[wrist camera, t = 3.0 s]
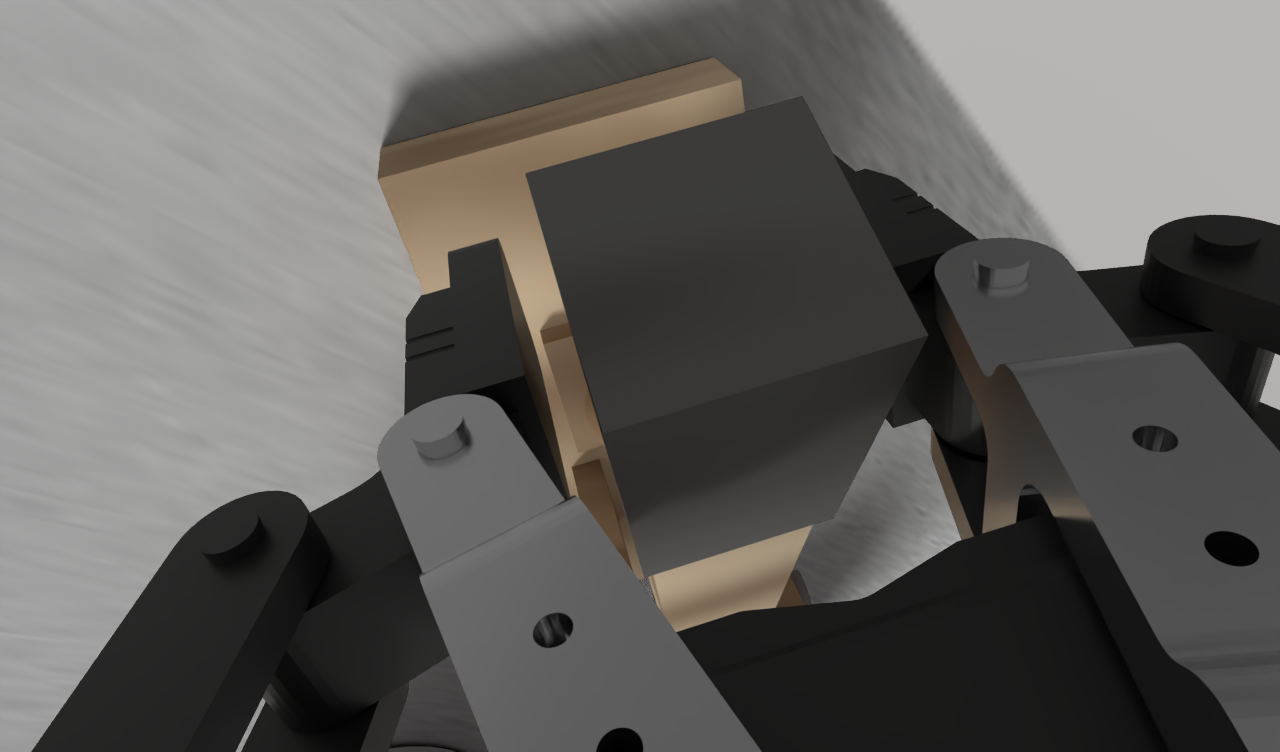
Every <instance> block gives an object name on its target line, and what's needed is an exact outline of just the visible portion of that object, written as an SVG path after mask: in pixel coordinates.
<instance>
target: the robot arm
mask: <svg viewBox="0 0 1280 752" xmlns="http://www.w3.org/2000/svg"><path fill="white" fill-rule="evenodd" d="M833 155H834V154H833ZM834 157H835V159H836V161H837V163H838V164H839V166H840V168H841V170H842V172H843V174H844V176H845V178H846V180H847V182H848V183H849V185H850V187H851V189H852V191H853V193H854V195H855V197H856V199H857V201H858V202H859V204H860V206H861V208H862V210H863V212H864V214H865V216H866V218H867V220H868V221H869V223H870V225H871V227H872V229H873V231H874V233H875V235H876V237H877V239H878V240H879V242H880V244H881V246H882V248H883V250H884V252H885V254H886V256H887V258H888V259H889V261H890V263H891V265H892V267H893V269H894V271H895V273H896V275H897V277H898V278H899V280H900V282H901V284H902V286H903V288H904V290H905V292H906V294H907V296H908V297H909V299H910V301H911V303H912V305H913V307H914V309H915V311H916V313H917V315H918V316H919V318H920V320H921V322H922V324H923V326H924V328H925V330H926V332H927V334H928V337H927V339H926V341H925V343H924V345H923V347H922V349H921V351H920V353H919V355H918V356H917V358H916V360H915V362H914V364H913V366H912V368H911V370H910V372H909V374H908V376H907V378H906V380H905V381H904V383H903V385H902V387H901V389H900V391H899V393H898V395H897V397H896V399H895V401H894V403H893V405H892V407H891V408H890V410H889V412H888V414H887V416H886V420H887V421H888V422H889V423H890V425H891V426H892V427H893V428H895V427H898V426H902V425H905V424H908V423H911V422H914V421H918V420H921V419H924V418H925V419H926V420H927V422H928V423H929V424H930V425H931V455H932V459H933V462H934V465H935V468H936V470H937V473H938V476H939V479H940V481H941V484H942V487H943V490H944V492H945V495H946V498H947V501H948V504H949V506H950V509H951V512H952V515H953V517H954V520H955V523H956V526H957V528H958V531H959V534H960V537H961V539H962V540H961V541H958V542H956V543H954V544H953V545H951V546H949V547H948V548H946V549H944V550H943V551H941V552H940V553H938V554H936V555H935V556H933V557H932V558H930V559H928V560H927V561H925V562H924V563H922V564H920V565H919V566H917V567H916V568H914V569H912V570H911V571H909V572H907V573H906V574H904V575H903V576H901V577H899V578H898V579H896V580H895V581H893V582H891V583H890V584H888V585H887V586H885V587H883V588H882V589H880V590H879V591H877V592H875V593H874V594H872V595H870V596H868V597H865V598H862V599H859V600H853V601H843V602H833V603H822V604H811V605H800V606H789V607H779V608H768V609H757V610H746V611H740V612H737V613H734V614H731V615H728V616H725V617H721V618H718V619H715V620H712V621H709V622H706V623H703V624H700V625H697V626H693V627H690V628H687V629H684V630H681V631H678V632H676V631H675V630H674V628H673V627H672V626H671V624H670V623H669V622H668V620H667V619H666V617H665V616H664V615H663V613H662V612H661V610H660V609H659V608H658V606H657V605H656V603H655V602H654V601H653V599H652V598H651V596H650V595H649V594H648V592H647V591H646V589H645V588H644V587H643V585H642V584H641V582H640V581H639V580H638V578H637V577H636V575H635V574H634V573H633V571H632V570H631V568H630V567H629V566H628V564H627V563H626V561H625V560H624V559H623V557H622V556H621V554H620V553H619V552H618V550H617V549H616V547H615V546H614V545H613V543H612V542H611V540H610V539H609V538H608V536H607V535H606V533H605V532H604V531H603V529H602V528H601V526H600V525H599V524H598V522H597V521H596V519H595V518H594V517H593V515H592V514H591V512H590V511H589V510H588V508H587V507H586V506H585V504H584V503H583V502H582V501H581V500H580V499H579V498H578V497H577V496H575V495H573V496H571V497H570V492H569V488H568V484H567V479H566V475H565V471H564V466H563V462H562V458H561V453H560V449H559V445H558V440H557V436H556V431H555V427H554V423H553V418H552V414H551V410H550V405H549V401H548V397H547V392H546V388H545V384H544V379H543V375H542V371H541V367H540V363H539V359H538V356H537V352H536V349H535V346H534V342H533V339H532V336H531V333H530V330H529V327H528V324H527V321H526V318H525V315H524V312H523V309H522V305H521V302H520V299H519V296H518V293H517V290H516V287H515V284H514V281H513V278H512V275H511V272H510V269H509V266H508V263H507V260H506V257H505V254H504V251H503V249H502V246H501V243H500V241H499V239H498V238H495V239H492V240H488V241H485V242H481V243H478V244H474V245H471V246H467V247H464V248H460V249H456V250H453V251H449V252H448V266H449V279H450V287H449V288H446V289H442V290H439V291H435V292H432V293H428V294H425V295H421V297H420V298H419V300H418V301H417V303H416V304H415V306H414V307H413V309H412V310H411V312H410V313H409V315H408V316H407V318H406V342H407V344H406V351H405V358H406V361H407V362H405V414H404V416H403V417H402V418H401V419H400V420H398V421H397V422H396V423H395V424H394V425H393V426H392V427H391V428H390V429H389V430H388V432H387V433H386V434H385V436H384V437H383V439H382V441H381V443H380V445H379V448H378V453H377V460H378V464H379V467H380V471H379V472H377V473H376V474H375V475H374V476H373V477H371V478H370V479H369V480H367V481H366V482H364V483H363V484H362V485H360V486H358V487H356V488H355V489H353V490H351V491H350V492H348V493H346V494H344V495H342V496H340V497H338V498H337V499H335V500H333V501H331V502H329V503H327V504H325V505H323V506H322V507H320V508H318V509H316V510H314V511H312V512H309V510H308V509H307V507H306V506H305V504H304V503H303V501H302V500H301V499H300V498H298V497H297V496H296V495H294V494H291V493H288V492H283V491H264V492H258V493H254V494H250V495H246V496H244V497H241V498H238V499H235V500H233V501H231V502H229V503H227V504H225V505H223V506H221V507H219V508H218V509H216V510H214V511H212V512H211V513H210V514H208V515H207V516H205V517H204V518H202V519H201V520H200V521H199V522H197V523H196V524H195V525H194V526H193V527H191V528H190V529H189V530H188V531H187V532H186V533H185V535H184V536H183V537H182V538H181V539H180V540H179V542H178V543H177V544H176V545H175V547H174V548H173V549H172V551H171V552H170V554H169V555H168V557H167V558H166V559H165V561H164V562H163V564H162V565H161V567H160V568H159V570H158V571H157V572H156V574H155V575H154V577H153V578H152V580H151V581H150V582H149V584H148V585H147V587H146V588H145V590H144V591H143V592H142V594H141V595H140V597H139V598H138V600H137V601H136V602H135V604H134V605H133V607H132V608H131V610H130V611H129V613H128V614H127V615H126V617H125V618H124V620H123V621H122V623H121V624H120V625H119V627H118V628H117V630H116V631H115V633H114V634H113V635H112V637H111V638H110V640H109V641H108V643H107V644H106V646H105V647H104V648H103V650H102V651H101V653H100V654H99V656H98V657H97V658H96V660H95V661H94V663H93V664H92V666H91V667H90V668H89V670H88V671H87V673H86V674H85V676H84V677H83V678H82V680H81V681H80V683H79V684H78V686H77V687H76V689H75V690H74V691H73V693H72V694H71V696H70V697H69V699H68V700H67V701H66V703H65V704H64V706H63V707H62V709H61V710H60V711H59V713H58V714H57V716H56V717H55V719H54V720H53V721H52V723H51V724H50V726H49V727H48V729H47V730H46V732H45V733H44V734H43V736H42V737H41V739H40V740H39V742H38V743H37V744H36V746H35V747H34V749H33V750H32V752H236V750H237V748H238V746H239V744H240V742H241V740H242V738H243V736H244V734H245V731H246V729H247V727H248V725H249V723H250V721H251V719H252V717H253V715H254V713H255V711H256V709H257V707H258V705H259V703H260V701H261V699H262V697H263V699H264V700H265V701H266V702H265V704H264V706H263V708H262V710H261V713H260V715H259V717H258V719H257V721H256V723H255V725H254V727H253V729H252V731H251V733H250V735H249V737H248V739H247V741H246V743H245V745H244V747H243V749H242V751H241V752H455V751H452V750H448V749H442V748H435V747H414V746H408V747H399V748H390V749H389V747H390V744H391V741H392V739H393V736H394V733H395V730H396V727H397V724H398V721H399V718H400V715H401V713H402V710H403V707H404V704H405V701H406V698H407V694H408V689H409V681H410V680H412V679H413V678H415V677H416V676H418V675H420V674H421V673H423V672H424V671H426V670H428V669H429V668H431V667H432V666H434V665H435V664H437V663H439V662H440V661H442V660H443V659H445V658H446V657H448V656H450V657H451V660H452V662H453V665H454V667H455V670H456V672H457V675H458V677H459V680H460V682H461V685H462V687H463V690H464V692H465V695H466V697H467V699H468V702H469V704H470V707H471V709H472V712H473V714H474V717H475V719H476V722H477V724H478V727H479V729H480V732H481V734H482V737H483V739H484V742H485V744H486V747H487V749H488V752H1280V410H1278V409H1275V408H1273V407H1270V406H1268V405H1266V404H1264V403H1261V402H1259V401H1260V398H1261V395H1262V391H1263V389H1264V386H1265V383H1266V380H1267V376H1268V373H1269V370H1270V367H1271V364H1272V361H1273V358H1274V355H1275V354H1278V355H1280V225H1276V224H1273V223H1269V222H1265V221H1261V220H1257V219H1252V218H1247V217H1240V216H1229V215H1204V216H1194V217H1187V218H1182V219H1178V220H1174V221H1172V222H1169V223H1166V224H1164V225H1162V226H1160V227H1159V228H1157V229H1156V230H1155V231H1153V233H1152V234H1151V235H1150V237H1149V240H1148V243H1147V248H1146V254H1145V259H1144V264H1143V265H1139V266H1129V267H1119V268H1109V269H1098V270H1088V271H1076V270H1075V269H1074V268H1073V267H1072V265H1071V264H1070V263H1069V261H1068V260H1067V259H1066V258H1065V257H1064V256H1063V255H1062V254H1061V253H1059V252H1058V251H1056V250H1055V249H1053V248H1051V247H1049V246H1047V245H1044V244H1041V243H1038V242H1034V241H1029V240H1024V239H1016V238H990V239H981V240H979V239H977V238H976V237H975V236H973V235H972V234H971V233H969V232H968V231H967V230H966V229H964V228H963V227H962V226H960V225H959V224H958V223H956V222H955V221H954V220H952V219H951V218H950V217H948V216H947V215H946V214H944V213H943V212H942V211H940V210H939V209H938V208H936V209H934V208H933V205H932V204H931V203H930V202H928V201H927V200H926V199H924V198H923V197H922V196H917V193H916V192H915V191H914V190H912V189H911V188H910V187H908V186H907V185H906V184H904V183H903V182H902V181H900V180H899V179H898V178H895V177H892V176H889V175H885V174H882V173H878V172H875V171H871V170H868V169H864V170H860V171H857V172H855V171H854V170H853V169H852V168H850V167H849V166H848V165H847V164H846V163H844V162H843V161H842V160H841V159H839V158H838V157H837V156H836V155H834Z"/></svg>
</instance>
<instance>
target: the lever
mask: <svg viewBox="0 0 1280 752" xmlns="http://www.w3.org/2000/svg"><path fill="white" fill-rule="evenodd" d="M525 175H526V178H527V182H528V185H529V189H530V192H531V195H532V199H533V202H534V206H535V209H536V213H537V216H538V220H539V223H540V226H541V230H542V233H543V237H544V240H545V244H546V247H547V250H548V254H549V257H550V261H551V264H552V268H553V271H554V274H555V278H556V281H557V285H558V288H559V292H560V295H561V299H562V302H563V305H564V309H565V312H566V316H567V319H568V323H569V326H570V329H571V333H572V336H573V340H574V343H575V347H576V350H577V353H578V357H579V360H580V364H581V367H582V371H583V374H584V377H585V381H586V384H587V388H588V391H589V395H590V398H591V402H592V405H593V408H594V412H595V415H596V418H597V422H598V425H599V428H600V432H601V435H602V438H603V442H604V445H605V448H606V452H607V455H608V458H609V462H610V465H611V468H612V472H613V475H614V478H615V482H616V485H617V488H618V492H619V495H620V498H621V502H622V505H623V508H624V512H625V515H626V518H627V522H628V525H629V528H630V532H631V535H632V538H633V542H634V545H635V548H636V552H637V555H638V558H639V562H640V565H641V568H642V572H643V575H644V578H646V577H649V581H650V585H651V589H652V593H653V597H654V600H655V603H656V605H657V606H658V608H659V609H660V610H661V612H662V613H663V615H664V616H665V617H666V619H667V620H668V622H669V623H670V624H671V626H672V627H673V628H674V630H675V631H676V632H678V631H681V630H684V629H687V628H690V627H693V626H697V625H700V624H703V623H706V622H709V621H712V620H715V619H718V618H721V617H725V616H728V615H731V614H734V613H737V612H740V611H746V610H757V609H768V608H776V606H777V603H778V601H779V599H780V597H781V595H782V592H783V590H784V588H785V586H786V583H787V581H788V579H789V577H790V575H791V572H792V570H793V568H794V566H795V563H796V561H797V559H798V557H799V555H800V552H801V550H802V548H803V546H804V543H805V541H806V539H807V537H808V535H809V532H810V530H811V528H812V526H813V525H814V524H817V523H820V522H823V521H826V520H829V519H833V518H834V516H835V514H836V512H837V511H838V509H839V507H840V505H841V503H842V501H843V499H844V497H845V495H846V493H847V491H848V489H849V487H850V486H851V484H852V482H853V480H854V478H855V476H856V474H857V472H858V470H859V468H860V466H861V464H862V462H863V460H864V459H865V457H866V455H867V453H868V451H869V449H870V447H871V445H872V443H873V441H874V439H875V437H876V435H877V434H878V432H879V430H880V428H881V426H882V424H883V422H884V420H885V418H886V416H887V414H888V412H889V410H890V408H891V407H892V405H893V403H894V401H895V399H896V397H897V395H898V393H899V391H900V389H901V387H902V385H903V383H904V381H905V380H906V378H907V376H908V374H909V372H910V370H911V368H912V366H913V364H914V362H915V360H916V358H917V356H918V355H919V353H920V351H921V349H922V347H923V345H924V343H925V341H926V339H927V337H928V334H927V332H926V330H925V328H924V326H923V324H922V322H921V320H920V318H919V316H918V315H917V313H916V311H915V309H914V307H913V305H912V303H911V301H910V299H909V297H908V296H907V294H906V292H905V290H904V288H903V286H902V284H901V282H900V280H899V278H898V277H897V275H896V273H895V271H894V269H893V267H892V265H891V263H890V261H889V259H888V258H887V256H886V254H885V252H884V250H883V248H882V246H881V244H880V242H879V240H878V239H877V237H876V235H875V233H874V231H873V229H872V227H871V225H870V223H869V221H868V220H867V218H866V216H865V214H864V212H863V210H862V208H861V206H860V204H859V202H858V201H857V199H856V197H855V195H854V193H853V191H852V189H851V187H850V185H849V183H848V182H847V180H846V178H845V176H844V174H843V172H842V170H841V168H840V166H839V164H838V163H837V161H836V159H835V157H834V155H833V153H832V151H831V149H830V147H829V145H828V144H827V142H826V140H825V138H824V136H823V134H822V132H821V130H820V128H819V126H818V125H817V123H816V121H815V119H814V117H813V115H812V113H811V111H810V109H809V107H808V106H807V104H806V102H805V100H804V98H803V96H801V97H798V98H794V99H790V100H787V101H783V102H780V103H776V104H772V105H769V106H765V107H762V108H758V109H754V110H751V111H747V112H744V113H740V114H736V115H733V116H729V117H726V118H722V119H718V120H715V121H711V122H708V123H704V124H700V125H697V126H693V127H690V128H686V129H682V130H679V131H675V132H672V133H668V134H664V135H661V136H657V137H654V138H650V139H646V140H643V141H639V142H636V143H632V144H628V145H625V146H621V147H618V148H614V149H610V150H607V151H603V152H600V153H596V154H592V155H589V156H585V157H582V158H578V159H574V160H571V161H567V162H564V163H560V164H556V165H553V166H549V167H546V168H542V169H538V170H535V171H531V172H528V173H525Z"/></svg>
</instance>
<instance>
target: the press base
mask: <svg viewBox="0 0 1280 752" xmlns="http://www.w3.org/2000/svg"><path fill="white" fill-rule="evenodd" d="M744 112H745V107H744V99H743V90H742V82H741V79H740V78H739V77H738V76H737V75H735V74H734V73H733V72H732V71H730V70H729V69H728V68H727V67H725V66H724V65H723V64H722V63H720V62H719V61H718V60H717V59H715V58H714V57H713V58H709V59H705V60H702V61H698V62H694V63H691V64H687V65H683V66H680V67H676V68H672V69H669V70H665V71H661V72H658V73H654V74H650V75H647V76H643V77H639V78H636V79H632V80H628V81H625V82H621V83H617V84H614V85H610V86H606V87H603V88H599V89H595V90H592V91H588V92H584V93H581V94H577V95H573V96H569V97H566V98H562V99H558V100H555V101H551V102H547V103H544V104H540V105H536V106H533V107H529V108H525V109H522V110H518V111H514V112H511V113H507V114H503V115H500V116H496V117H492V118H489V119H485V120H481V121H478V122H474V123H470V124H467V125H463V126H459V127H456V128H452V129H448V130H445V131H441V132H437V133H434V134H430V135H426V136H423V137H419V138H415V139H412V140H408V141H404V142H401V143H397V144H393V145H390V146H386V147H382V148H381V150H380V160H379V170H378V181H379V184H380V186H381V189H382V191H383V194H384V196H385V198H386V201H387V203H388V206H389V208H390V211H391V213H392V215H393V218H394V220H395V223H396V225H397V228H398V230H399V233H400V235H401V237H402V240H403V242H404V245H405V247H406V250H407V252H408V254H409V257H410V259H411V262H412V264H413V267H414V269H415V272H416V274H417V276H418V279H419V281H420V284H421V286H422V289H423V291H424V293H425V294H428V293H432V292H435V291H439V290H442V289H446V288H449V287H450V279H449V266H448V252H449V251H453V250H456V249H460V248H464V247H467V246H471V245H474V244H478V243H481V242H485V241H488V240H492V239H495V238H498V239H499V241H500V243H501V246H502V249H503V251H504V254H505V257H506V260H507V263H508V266H509V269H510V272H511V275H512V278H513V281H514V284H515V287H516V290H517V293H518V296H519V299H520V302H521V305H522V309H523V312H524V315H525V318H526V321H527V324H528V327H529V330H530V333H531V336H532V339H533V342H534V346H535V349H536V352H537V356H538V359H539V363H540V367H541V371H542V375H543V379H544V384H545V388H546V392H547V397H548V401H549V405H550V410H551V414H552V418H553V423H554V427H555V431H556V436H557V440H558V445H559V449H560V453H561V458H562V462H563V466H564V471H565V475H566V479H567V484H568V488H569V492H570V497H571V496H573V495H575V496H577V497H578V498H579V499H580V500H581V501H582V502H583V503H584V504H585V506H586V507H587V508H588V510H589V511H590V512H591V514H592V515H593V517H594V518H595V519H596V521H597V522H598V524H599V525H600V526H601V528H602V529H603V531H604V532H605V533H606V535H607V536H608V538H609V539H610V540H611V542H612V543H613V545H614V546H615V547H616V549H617V550H618V552H619V553H620V554H621V556H622V557H623V559H624V560H625V561H626V563H627V564H628V566H629V567H630V568H631V570H632V571H633V573H634V574H635V575H636V577H637V578H638V580H641V579H644V575H643V572H642V568H641V565H640V562H639V558H638V555H637V552H636V548H635V545H634V542H633V538H632V535H631V532H630V528H629V525H628V522H627V518H626V515H625V512H624V508H623V505H622V502H621V498H620V495H619V492H618V488H617V485H616V482H615V478H614V475H613V472H612V468H611V465H610V462H609V458H608V455H607V452H606V448H605V445H604V442H603V438H602V435H601V432H600V428H599V425H598V422H597V418H596V415H595V412H594V408H593V405H592V402H591V398H590V395H589V391H588V388H587V384H586V381H585V377H584V374H583V371H582V367H581V364H580V360H579V357H578V353H577V350H576V347H575V343H574V340H573V336H572V333H571V329H570V326H569V323H568V319H567V316H566V312H565V309H564V305H563V302H562V299H561V295H560V292H559V288H558V285H557V281H556V278H555V274H554V271H553V268H552V264H551V261H550V257H549V254H548V250H547V247H546V244H545V240H544V237H543V233H542V230H541V226H540V223H539V220H538V216H537V213H536V209H535V206H534V202H533V199H532V195H531V192H530V189H529V185H528V182H527V178H526V175H525V173H528V172H531V171H535V170H538V169H542V168H546V167H549V166H553V165H556V164H560V163H564V162H567V161H571V160H574V159H578V158H582V157H585V156H589V155H592V154H596V153H600V152H603V151H607V150H610V149H614V148H618V147H621V146H625V145H628V144H632V143H636V142H639V141H643V140H646V139H650V138H654V137H657V136H661V135H664V134H668V133H672V132H675V131H679V130H682V129H686V128H690V127H693V126H697V125H700V124H704V123H708V122H711V121H715V120H718V119H722V118H726V117H729V116H733V115H736V114H740V113H744ZM646 578H647V577H646ZM800 605H811V602H810V598H809V594H808V591H807V588H806V586H805V583H804V581H803V579H802V577H801V575H800V573H799V572H798V570H794V571H792V572H791V575H790V577H789V579H788V581H787V583H786V586H785V588H784V590H783V592H782V595H781V597H780V599H779V601H778V603H777V606H776V608H779V607H789V606H800Z"/></svg>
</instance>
